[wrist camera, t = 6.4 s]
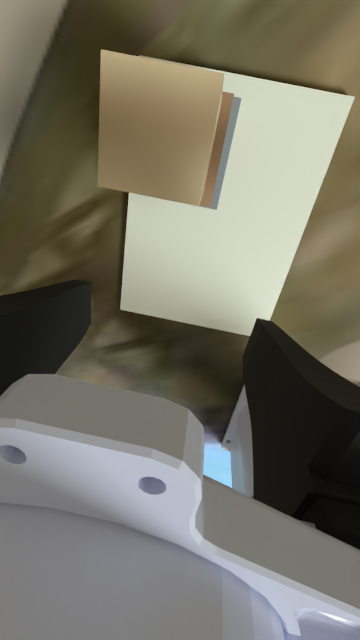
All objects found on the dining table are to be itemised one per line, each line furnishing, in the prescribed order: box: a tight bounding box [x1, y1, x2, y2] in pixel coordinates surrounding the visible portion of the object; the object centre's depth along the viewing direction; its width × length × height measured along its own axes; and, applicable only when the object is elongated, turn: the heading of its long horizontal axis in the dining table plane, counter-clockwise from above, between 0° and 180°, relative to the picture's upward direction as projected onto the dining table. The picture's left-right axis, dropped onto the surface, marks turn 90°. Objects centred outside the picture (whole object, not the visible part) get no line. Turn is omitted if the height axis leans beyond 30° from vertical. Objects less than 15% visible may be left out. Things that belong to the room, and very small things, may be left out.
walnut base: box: [199, 91, 234, 207], centre depth 16 cm, size 5×5×4 cm
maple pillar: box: [98, 49, 224, 206], centre depth 12 cm, size 4×4×5 cm
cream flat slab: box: [120, 55, 355, 336], centre depth 20 cm, size 16×12×1 cm
